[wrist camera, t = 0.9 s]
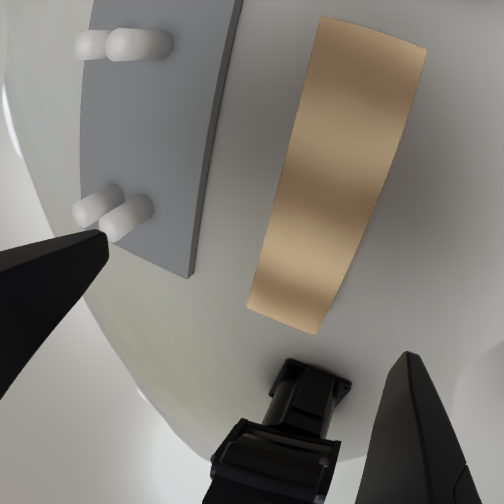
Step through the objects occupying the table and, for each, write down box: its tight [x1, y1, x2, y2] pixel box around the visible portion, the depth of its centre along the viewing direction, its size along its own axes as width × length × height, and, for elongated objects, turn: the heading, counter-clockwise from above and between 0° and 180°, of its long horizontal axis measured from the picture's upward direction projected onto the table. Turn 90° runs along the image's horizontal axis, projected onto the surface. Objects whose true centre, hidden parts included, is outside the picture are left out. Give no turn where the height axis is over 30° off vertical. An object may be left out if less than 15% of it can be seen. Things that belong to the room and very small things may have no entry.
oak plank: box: [246, 16, 427, 336], centre depth 17 cm, size 18×5×4 cm, turn 168°
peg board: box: [72, 0, 243, 279], centre depth 19 cm, size 22×12×5 cm, turn 168°
